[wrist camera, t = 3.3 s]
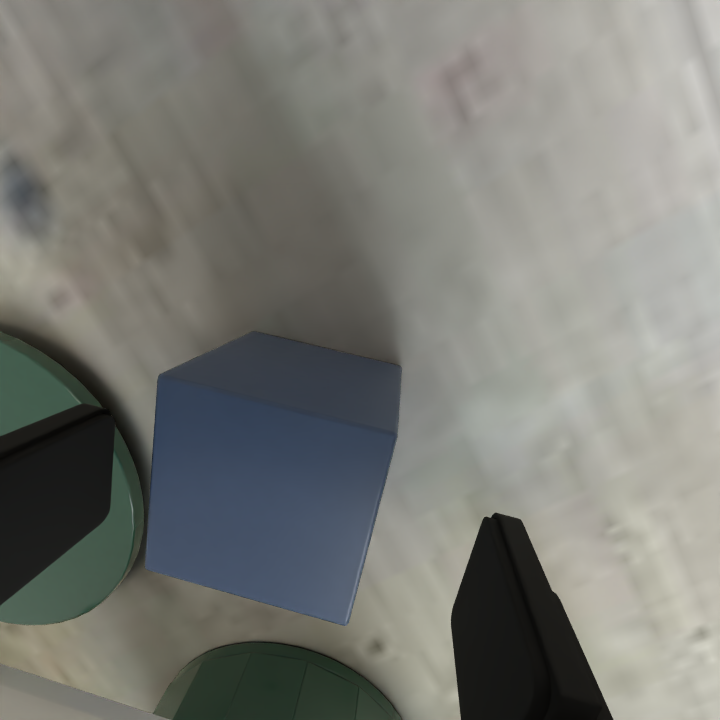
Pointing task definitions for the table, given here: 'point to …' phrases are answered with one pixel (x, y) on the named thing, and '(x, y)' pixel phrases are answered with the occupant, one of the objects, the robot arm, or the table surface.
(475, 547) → the robot arm
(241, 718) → the crock
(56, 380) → the crock lid
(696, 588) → the table surface
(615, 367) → the table surface
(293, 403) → the block
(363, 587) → the table surface
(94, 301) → the table surface
